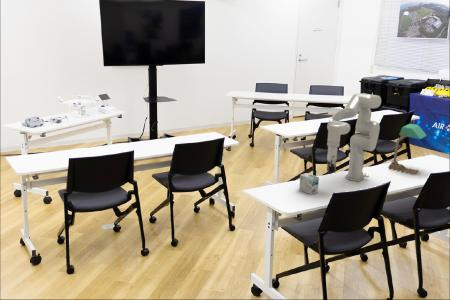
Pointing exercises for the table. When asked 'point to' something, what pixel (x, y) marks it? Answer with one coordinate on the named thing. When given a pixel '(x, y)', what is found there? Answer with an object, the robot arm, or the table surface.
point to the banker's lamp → (406, 131)
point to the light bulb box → (309, 183)
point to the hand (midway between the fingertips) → (331, 170)
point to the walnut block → (329, 165)
